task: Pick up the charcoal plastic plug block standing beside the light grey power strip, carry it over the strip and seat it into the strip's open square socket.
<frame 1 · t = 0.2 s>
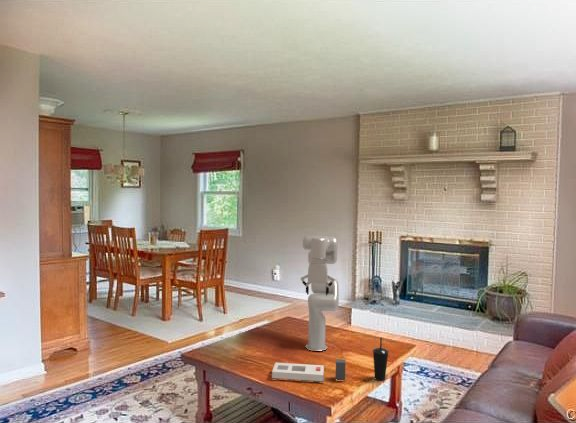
hand: (317, 294, 233), 36 cm above the table, tool pointing down, fingers open, 9 cm apart
power strip: (298, 376, 218), on the table
plug: (340, 379, 216), on the table
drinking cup: (379, 379, 218), on the table
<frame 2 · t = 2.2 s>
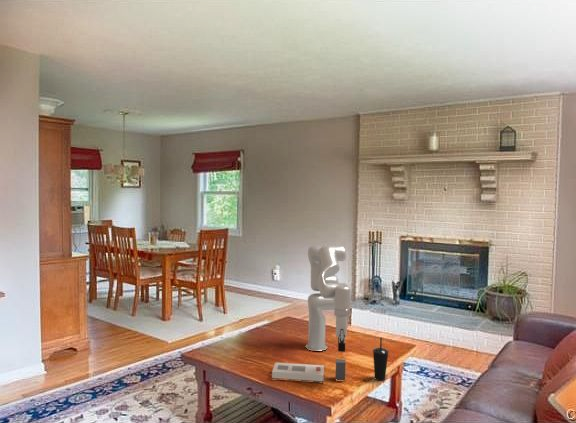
hand: (341, 348, 215), 15 cm above the table, tool pointing down, fingers open, 9 cm apart
nothing on the table moved.
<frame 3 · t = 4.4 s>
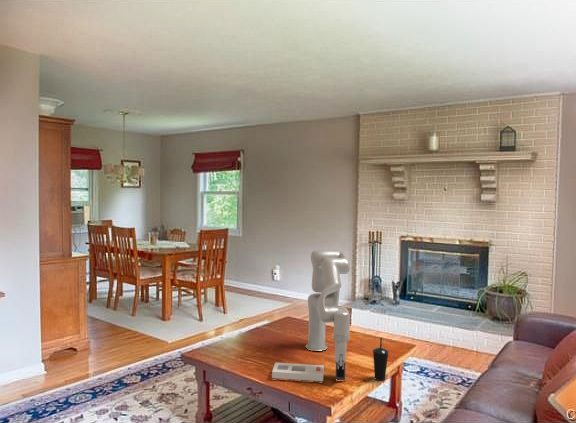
hand: (340, 374, 216), 2 cm above the table, tool pointing down, fingers closed on plug, 4 cm apart
plug: (340, 379, 216), on the table, touching gripper
everything else where it was.
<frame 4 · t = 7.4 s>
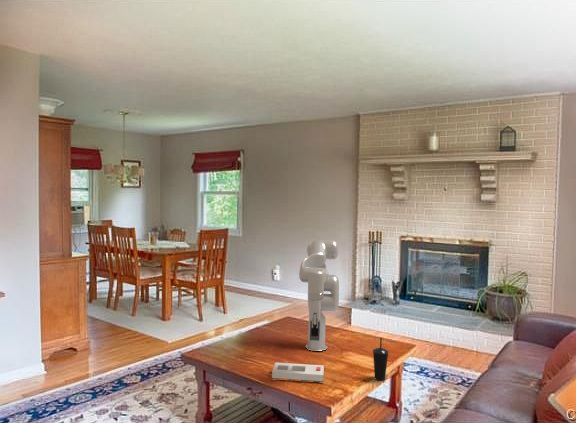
hand: (314, 333, 216), 21 cm above the table, tool pointing down, fingers closed on plug, 4 cm apart
plug: (314, 338, 217), point 19 cm above the table, touching gripper
everything else where it was.
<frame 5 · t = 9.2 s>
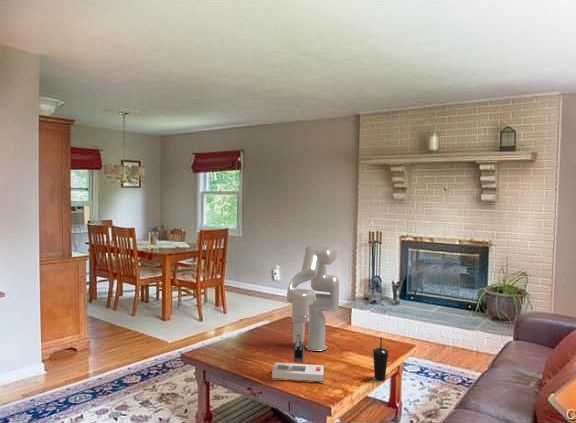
hand: (298, 355, 217), 10 cm above the table, tool pointing down, fingers closed on plug, 4 cm apart
plug: (298, 360, 217), point 8 cm above the table, touching gripper
everything else where it was.
when the fingers open (5 cm above the table, at t = 10.7 s): plug drops 2 cm, resting on power strip.
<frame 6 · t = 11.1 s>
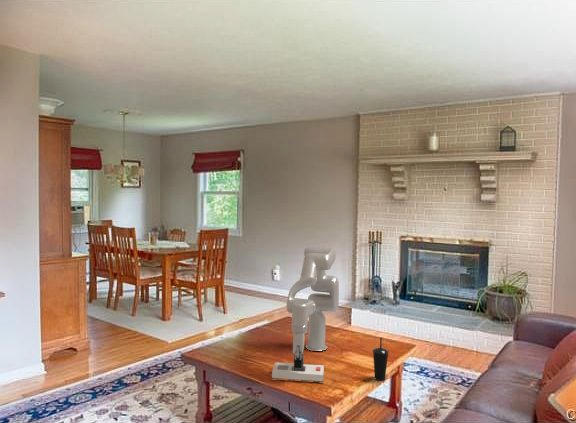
hand: (298, 363, 218), 6 cm above the table, tool pointing down, fingers open, 9 cm apart
plug: (298, 374, 218), point 1 cm above the table, touching power strip
everything else where it was.
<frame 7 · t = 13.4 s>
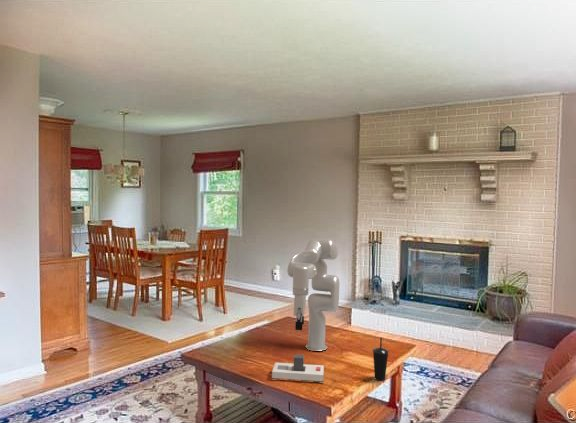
hand: (299, 326, 217), 24 cm above the table, tool pointing down, fingers open, 9 cm apart
nothing on the table moved.
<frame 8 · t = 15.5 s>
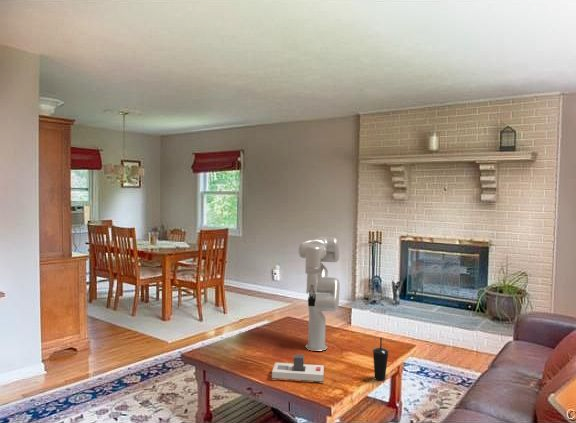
hand: (311, 303, 230), 32 cm above the table, tool pointing down, fingers open, 9 cm apart
nothing on the table moved.
at the end: plug 0.0 cm off-centre on the power strip, point 1.0 cm above the power strip's base; plug tilted 0°; the gripper is holding nothing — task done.
